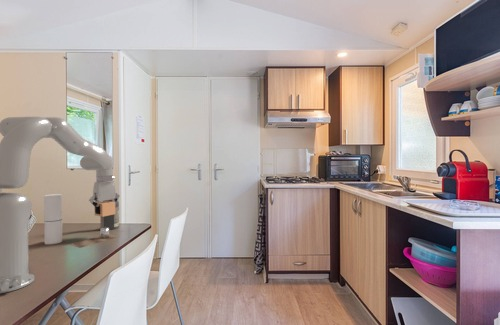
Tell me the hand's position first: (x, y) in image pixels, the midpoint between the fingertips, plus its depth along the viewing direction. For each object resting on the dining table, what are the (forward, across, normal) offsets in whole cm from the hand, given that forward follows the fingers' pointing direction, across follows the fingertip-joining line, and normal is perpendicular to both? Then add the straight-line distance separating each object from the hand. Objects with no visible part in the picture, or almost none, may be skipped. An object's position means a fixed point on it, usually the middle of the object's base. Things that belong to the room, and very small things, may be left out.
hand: (105, 212), depth 137 cm
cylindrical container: (+15, +17, -15) cm, 27 cm away
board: (+15, +6, 0) cm, 16 cm away
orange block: (+1, 0, 0) cm, 1 cm away
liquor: (+15, -12, -15) cm, 25 cm away
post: (+13, 0, 0) cm, 13 cm away
